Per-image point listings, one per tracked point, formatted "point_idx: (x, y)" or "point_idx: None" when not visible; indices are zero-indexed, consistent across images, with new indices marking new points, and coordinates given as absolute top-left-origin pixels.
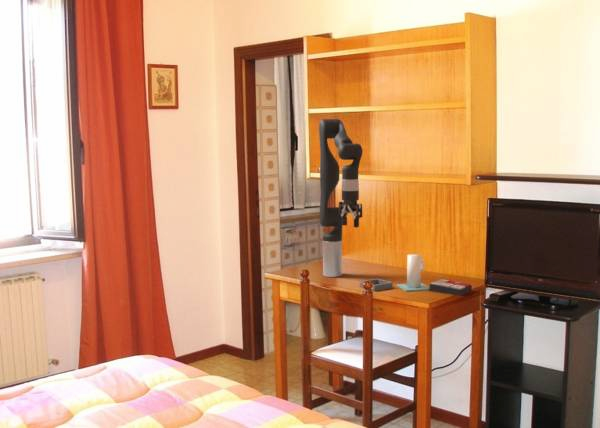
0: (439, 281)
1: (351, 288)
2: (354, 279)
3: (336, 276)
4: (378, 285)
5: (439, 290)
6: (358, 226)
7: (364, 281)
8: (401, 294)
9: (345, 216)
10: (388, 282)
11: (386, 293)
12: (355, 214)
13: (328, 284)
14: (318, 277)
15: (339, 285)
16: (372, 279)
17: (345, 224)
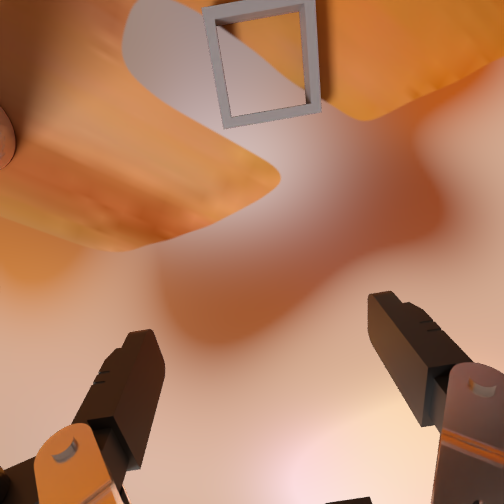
0: None
1: (236, 171)
2: (79, 74)
3: (13, 131)
4: (319, 87)
5: None
6: (390, 293)
7: (229, 107)
8: (420, 33)
9: (113, 443)
10: (297, 5)
11: (371, 86)
12: (437, 464)
13: (143, 218)
14: (6, 202)
15: (172, 189)
16: (212, 50)
17: (155, 348)
